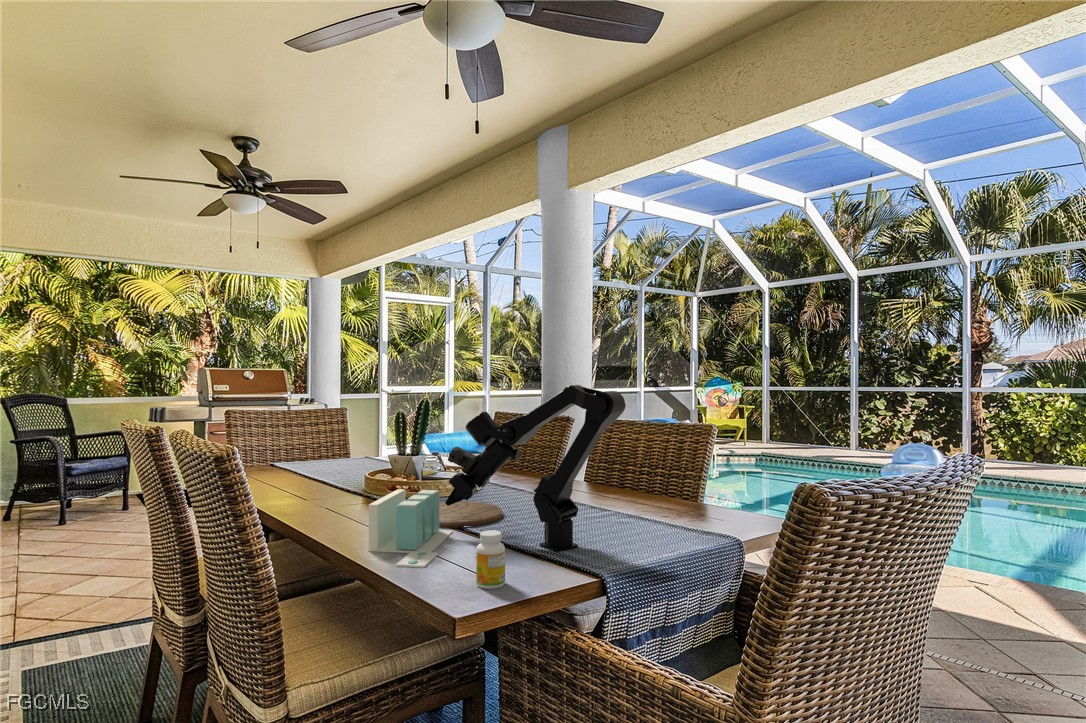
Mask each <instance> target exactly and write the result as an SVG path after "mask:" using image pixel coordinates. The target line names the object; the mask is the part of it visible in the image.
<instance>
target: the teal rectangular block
mask: <svg viewBox="0 0 1086 723" xmlns="http://www.w3.org/2000/svg"><path fill="white" fill-rule="evenodd" d="M416 495H428V496H430V497H431V534H435V533H436V532H437V531H440V528H439V508H440V503H441V502H440V501H441V500H440V498H441V497H440V491H439V490H436V489H434V490H432V489H422V490H420V491H418V492H417V494H416Z"/></svg>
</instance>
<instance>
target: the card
mask: <svg viewBox="0 0 1086 723" xmlns="http://www.w3.org/2000/svg"><path fill="white" fill-rule="evenodd" d="M438 555H439V553H438V552H431V553H428V552H410V553H407V554H406V555H405V556H404V557H403V558H402V559H401V560H399V561H398V562H397V563H396V565H395V567H401V568H402V567H406V568H407V567H408V568H425V567H427V565H429V564H430V563H431V562H432V561H433V560H434V559H435V558H436V557H437V556H438Z"/></svg>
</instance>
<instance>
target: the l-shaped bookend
mask: <svg viewBox="0 0 1086 723" xmlns="http://www.w3.org/2000/svg"><path fill="white" fill-rule="evenodd" d="M406 493H407V492H406V489H401V488H399V489H396V490H394V491H392V492H390V493H388V494H386V495H384V496H382V497H381V498H378V499H377V500H375V501H372V502H371V503H369V504H368V552H375V551H376V552H378V553H381V552H382V553H400V554H402V553H404V554H405V553H407V554H409V553H410V552H428V553H433V551H434V550H435V549H436V548H438V546H440V545H441V544H442V543H443V542H444V541H445V540H446V539H447V538H448V537H449V536H451V534H452V533H453V532H454V531H453V530H439V531H437V532H436V533H435V534H431V537H430V538H429V539H428V540H427V541H426V542H423V544H422V545H421V546H420V547H419V548H418V549H416V550H408V549H396V509H397V506H398V504H400V503H401V502H403V501H407V500H406V496H407V495H406ZM376 552H375V553H376Z"/></svg>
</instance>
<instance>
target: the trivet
mask: <svg viewBox="0 0 1086 723" xmlns="http://www.w3.org/2000/svg"><path fill="white" fill-rule="evenodd" d="M445 502H446V501H444V502H440V508H439V529H460V528H459V527H464V526H475V527H479V526H478V525H481V526H485V525H484V524H486V525H489V524H492V522H493V523H495V522H497V521H499V520H500V519H501V518H502V517H503V516H502V515H503V514H502V513H503V511H502V509H501V507H499V506H497V505H495V504H492V503H487V502H481V501H459V502H457V503H454V504H452V505H449V506H447V505H446V504H445ZM501 516H502V517H501ZM498 519H499V520H498ZM496 520H497V521H496Z"/></svg>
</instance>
